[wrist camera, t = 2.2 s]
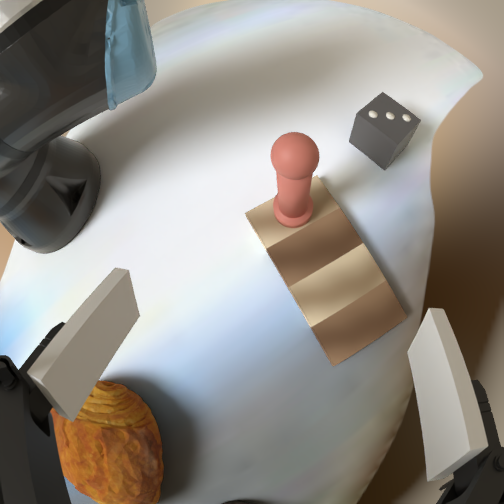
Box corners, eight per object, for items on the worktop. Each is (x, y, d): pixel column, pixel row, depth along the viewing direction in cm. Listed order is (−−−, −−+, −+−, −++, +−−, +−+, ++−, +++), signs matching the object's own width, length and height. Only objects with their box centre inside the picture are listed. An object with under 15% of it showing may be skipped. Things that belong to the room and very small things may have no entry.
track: (246, 216, 29) (245, 213, 28) (316, 179, 29) (316, 175, 29) (331, 365, 25) (333, 366, 24) (403, 317, 25) (407, 317, 24)
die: (348, 142, 30) (356, 112, 25) (373, 120, 31) (382, 91, 26) (384, 170, 29) (398, 144, 24) (406, 146, 30) (421, 119, 25)
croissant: (187, 397, 27) (159, 404, 20) (167, 518, 22) (141, 549, 14) (74, 360, 29) (30, 352, 22) (61, 471, 23) (21, 483, 16)
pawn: (266, 203, 28) (255, 134, 18) (299, 186, 28) (303, 112, 18) (286, 235, 27) (285, 176, 17) (319, 216, 27) (336, 151, 17)
